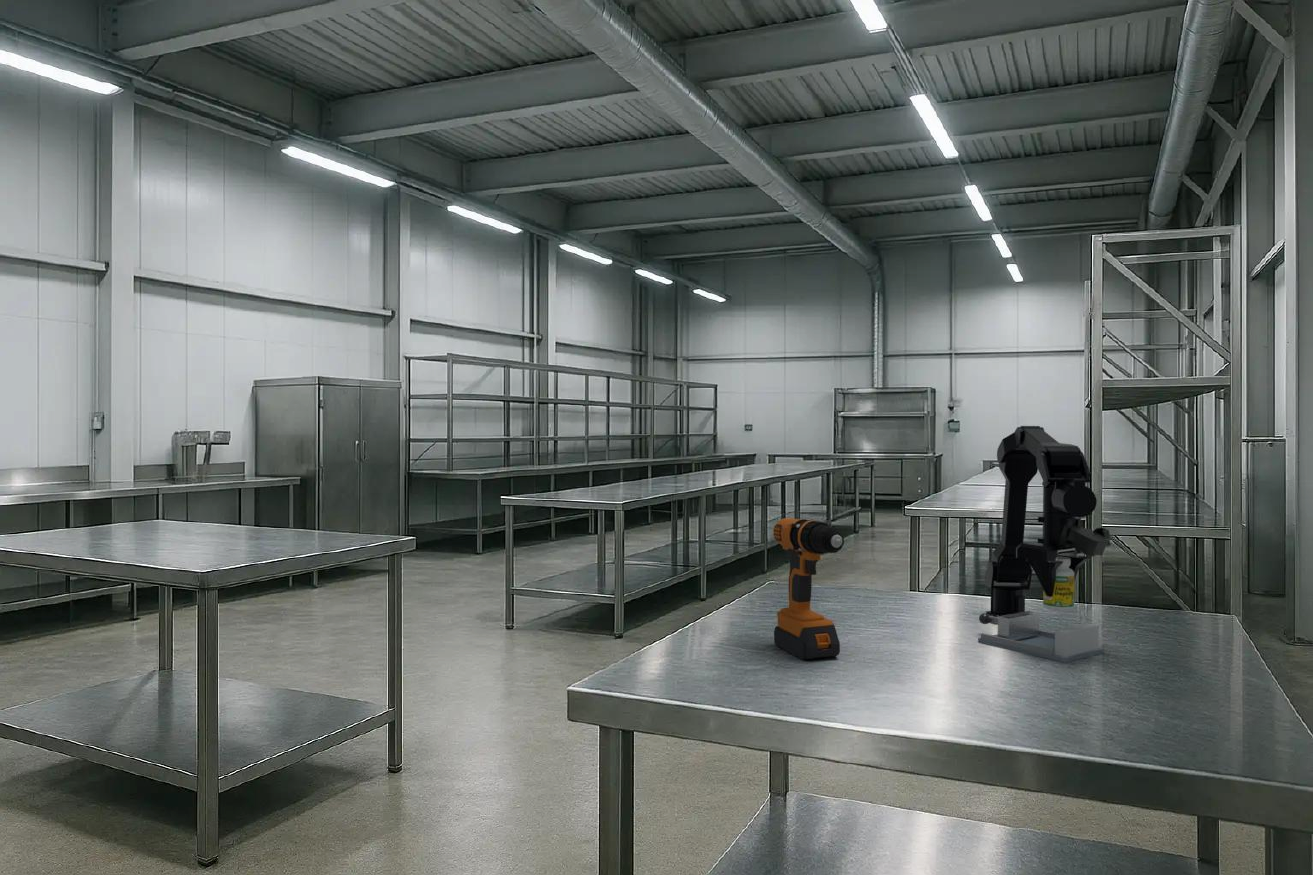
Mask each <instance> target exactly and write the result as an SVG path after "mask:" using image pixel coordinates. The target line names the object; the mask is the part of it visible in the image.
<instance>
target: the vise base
mask: <svg viewBox="0 0 1313 875" xmlns="http://www.w3.org/2000/svg"><path fill="white" fill-rule="evenodd" d="M1099 632H1100V626H1099V625H1097V624H1093V623H1084V624H1079V625H1075V626H1069V627H1067V628H1066V627H1064V628H1060V629H1055V631H1054V632H1052V631H1046V630H1042V629H1039V635H1038V636H1033V637H1028V638H1023V639H1019V640H1010V639H1006V638H1002V637H998V633H997V634H993V635H992V634H989V633H983V632H982V633H980V637H979V638H977V643H980V644H984V645H987V646H993V647H996V648H1000V649H1004V650H1008V651H1013V652H1017V653H1022V654H1027V655H1030V656H1033V657H1034V656H1035V657H1037V658H1038V657H1039V658H1042V659H1047V660H1052V661H1055V662H1060V663H1064V664H1065V663H1069V662H1073V661H1077V660H1081V659H1086V658H1089V657H1093V656H1097V655H1101V654H1105V649H1104V648H1101V647H1100V646H1099V644H1100V643H1099V641H1100V640H1099V638H1100V636H1099V634H1100V633H1099Z"/></svg>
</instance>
